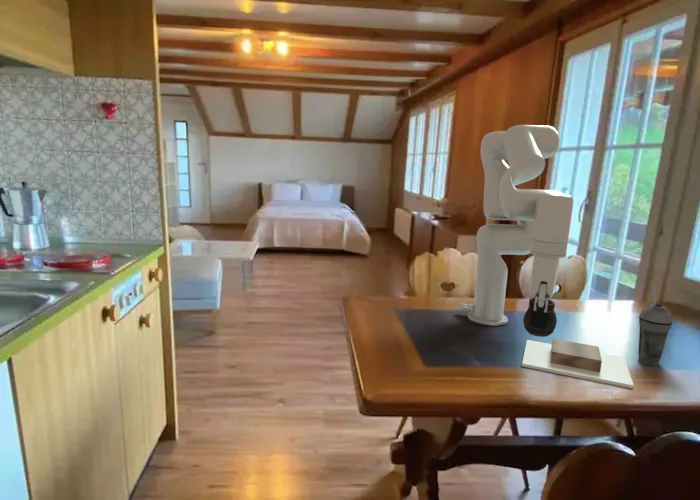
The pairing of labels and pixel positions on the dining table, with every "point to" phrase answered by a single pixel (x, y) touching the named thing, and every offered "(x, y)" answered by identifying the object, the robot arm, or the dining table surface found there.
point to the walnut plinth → (576, 355)
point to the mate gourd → (549, 325)
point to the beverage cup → (653, 332)
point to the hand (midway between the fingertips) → (538, 321)
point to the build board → (610, 372)
